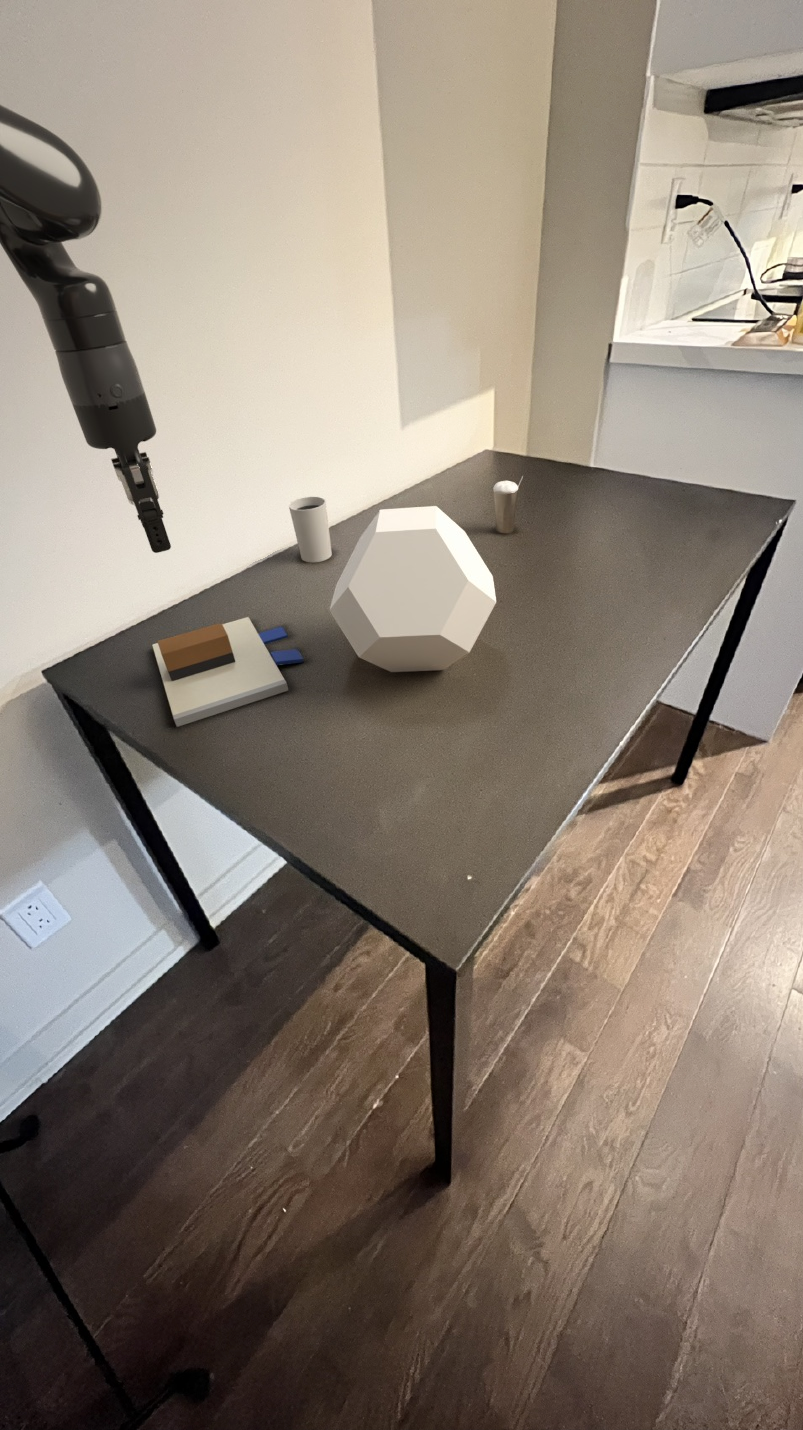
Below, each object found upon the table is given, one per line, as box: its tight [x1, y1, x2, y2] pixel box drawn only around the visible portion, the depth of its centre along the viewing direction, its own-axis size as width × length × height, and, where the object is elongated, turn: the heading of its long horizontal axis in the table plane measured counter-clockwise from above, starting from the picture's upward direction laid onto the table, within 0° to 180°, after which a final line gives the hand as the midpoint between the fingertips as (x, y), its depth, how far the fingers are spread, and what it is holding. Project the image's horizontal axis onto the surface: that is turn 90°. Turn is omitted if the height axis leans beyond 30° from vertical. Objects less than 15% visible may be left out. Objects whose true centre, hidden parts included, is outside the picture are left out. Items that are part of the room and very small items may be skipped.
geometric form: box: [328, 505, 497, 673], centre depth 82 cm, size 20×20×20 cm
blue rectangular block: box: [269, 648, 304, 666], centre depth 89 cm, size 4×3×1 cm
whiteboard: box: [152, 616, 289, 728], centre depth 89 cm, size 15×21×1 cm
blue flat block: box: [257, 626, 289, 645], centre depth 95 cm, size 4×3×1 cm
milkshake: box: [492, 475, 524, 534], centre depth 116 cm, size 5×5×10 cm
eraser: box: [157, 622, 235, 681], centre depth 87 cm, size 4×9×4 cm, turn 116°
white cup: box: [288, 496, 333, 563], centre depth 114 cm, size 7×7×10 cm
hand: (157, 538), depth 77 cm, fingers open, 8 cm apart
